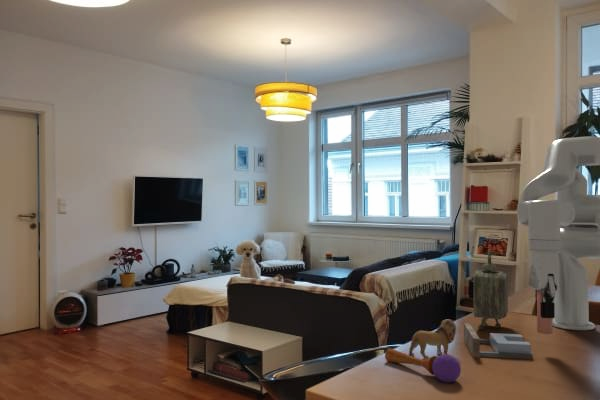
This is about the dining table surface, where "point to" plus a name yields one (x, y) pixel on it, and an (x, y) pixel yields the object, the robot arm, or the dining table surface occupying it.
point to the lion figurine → (434, 338)
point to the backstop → (475, 341)
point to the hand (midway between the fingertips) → (544, 315)
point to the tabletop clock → (490, 293)
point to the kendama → (429, 364)
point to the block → (509, 343)
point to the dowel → (543, 323)
